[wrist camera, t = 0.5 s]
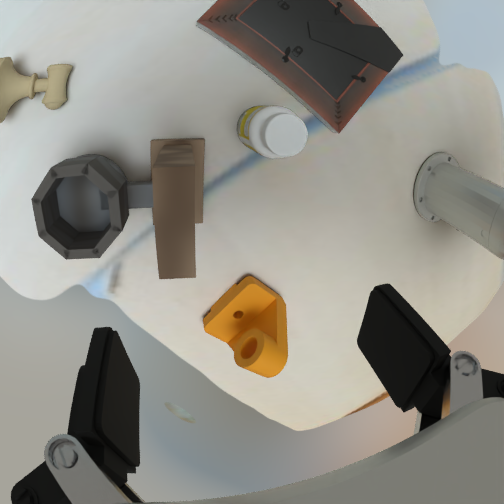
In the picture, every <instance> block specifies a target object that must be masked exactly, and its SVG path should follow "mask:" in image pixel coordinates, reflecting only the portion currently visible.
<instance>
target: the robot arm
mask: <svg viewBox="0 0 504 504" xmlns="http://www.w3.org/2000/svg"><path fill="white" fill-rule="evenodd" d="M414 201H415V206H416V210H417V211H418V213H419V215H420V216H421V217H422V218H424V219H425V220H427V221H430V222H436V221H439V220H444V221H445V222H447V223H448V224H450V225H452V226H453V227H455V228H456V230H458V231H461V232H462V233H464V234H465V235H467V236H468V237H470V238H471V239H473V240H474V241H476V242H477V243H479V244H480V245H482V246H483V247H484V248H486V249H487V250H489V251H490V252H491V253H493V254H494V255H496V256H497V257H499V258H501V259H503V260H504V188H503V187H501V186H499V185H497V184H495V183H493V182H491V181H489V180H487V179H484V178H482V177H480V176H478V175H475V174H473V173H471V172H468V171H466V170H464V169H461V168H460V167H459V164H458V162H457V161H456V159H455V158H454V157H453V156H451V155H449V154H446V153H436V154H434V155H432V156H431V157H429V158H428V159H427V160H426V162H425V163H424V164H423V166H422V167H421V169H420V171H419V173H418V176H417V179H416V183H415V189H414ZM357 344H358V347H359V348H360V350H361V351H362V353H363V355H364V356H365V358H366V359H367V361H368V362H369V364H370V365H371V367H372V368H373V370H374V372H375V373H376V375H377V376H378V378H379V379H380V381H381V382H382V384H383V386H384V387H385V389H386V390H387V392H388V394H389V395H390V397H391V398H392V400H393V401H394V403H395V405H396V406H397V407H399V408H401V409H402V411H403V412H406V411H408V410H410V409H412V408H414V407H416V408H417V410H418V412H417V418H416V424H415V430H414V435H413V436H411V437H409V438H408V439H406V440H404V441H402V442H400V443H398V444H396V445H394V446H392V447H390V448H388V449H385V450H383V451H381V452H379V453H377V454H375V455H372V456H370V457H368V458H365V459H363V460H360V461H358V462H355V463H353V464H350V465H348V466H345V467H343V468H340V469H337V470H334V471H332V472H329V473H326V474H323V475H320V476H316V477H314V478H310V479H307V480H303V481H300V482H296V483H292V484H288V485H284V486H281V487H276V488H272V489H267V490H263V491H258V492H253V493H247V494H242V495H235V496H229V497H221V498H213V499H203V500H193V501H179V502H151V503H146V502H145V501H144V500H143V499H142V498H141V497H140V496H139V495H137V493H136V492H135V491H134V490H133V489H132V488H131V487H130V486H129V485H128V484H127V483H126V482H127V473H136V467H138V466H139V464H140V450H139V399H140V383H139V378H138V376H137V374H136V372H135V370H134V368H133V366H132V364H131V362H130V359H129V357H128V355H127V353H126V350H125V348H124V346H123V344H122V341H121V339H120V337H119V335H118V333H117V331H113V330H112V328H110V327H103V328H95V329H94V331H93V335H92V338H91V342H90V347H89V350H88V355H87V359H86V363H85V365H83V366H81V367H80V369H79V372H78V377H77V381H76V386H75V391H74V396H73V402H72V407H71V413H70V420H69V426H68V433H67V434H60V435H56V436H54V437H52V438H51V439H50V441H48V443H47V445H46V447H45V451H44V457H45V461H44V462H43V463H42V464H41V465H39V466H38V467H37V468H36V469H34V470H33V471H32V472H31V473H29V474H28V475H27V476H25V477H24V478H23V479H22V480H20V481H19V482H18V483H16V485H15V486H14V487H13V489H12V491H11V500H12V504H504V374H501V373H497V372H493V371H489V370H485V369H481V366H480V363H479V361H478V359H477V358H476V357H475V356H474V355H472V354H471V353H469V352H466V351H458V352H456V353H454V354H453V355H452V357H451V356H450V355H449V354H450V352H451V350H450V349H449V348H448V347H447V345H446V344H445V343H444V342H443V341H442V340H441V339H440V337H439V336H438V335H437V334H436V333H435V332H434V331H433V329H432V328H431V327H430V326H429V325H428V324H427V323H426V322H425V321H424V320H423V318H422V317H421V316H420V315H419V314H418V313H417V312H416V311H415V310H414V309H413V308H412V307H411V305H410V304H409V303H408V302H407V301H406V300H405V299H404V298H403V297H402V296H401V295H400V294H399V293H398V292H397V291H396V290H395V289H394V288H393V287H392V286H391V285H390V284H388V283H387V284H383V285H378V286H375V287H374V289H373V291H371V293H370V296H369V300H368V304H367V307H366V311H365V315H364V318H363V322H362V325H361V328H360V332H359V335H358V338H357Z"/></svg>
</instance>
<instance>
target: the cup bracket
mask: <svg viewBox="0 0 504 504" xmlns="http://www.w3.org/2000/svg"><path fill="white" fill-rule="evenodd" d="M204 147H205V139H157V140H151V181H136V182H128V181H127V179H126V176H125V175H124V173H123V171H122V170H121V169H120V167H119V166H118V165H117V164H116V163H114V162H113V161H112V160H110V159H108V158H106V157H104V156H101V155H95V154H87V155H82V156H79V157H77V158H71V159H66V160H64V161H62V162H60V163H58V164H57V165H55V166H53V167H51V168H50V170H49V172H48V173H47V175H46V176H45V178H44V179H43V181H42V183H41V184H40V186H39V188H38V189H37V191H36V193H35V194H34V196H33V198H32V199H31V200H32V205H33V210H34V216H35V221H36V226H37V230H38V235H39V237H40V238H41V239H43V240H44V241H45V242H46V243H47V244H48V245H50V246H51V247H52V248H53V249H54V250H56V251H57V252H58V253H59V254H60V255H62V256H63V257H64V258H65V259H84V258H100V257H101V256H102V254H103V253H104V252H105V251H106V249H107V248H108V247H109V246H110V245H111V243H112V242H113V241H114V240H115V239H116V237H117V236H118V235H119V234H120V233H121V231H122V230H123V228H124V226H125V223H126V221H127V219H128V216H129V209H131V208H150V207H152V211H153V225H155V237H156V249H157V260H158V270H159V279H174V278H196V265H195V223H203V177H204Z"/></svg>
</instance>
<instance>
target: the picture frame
mask: <svg viewBox="0 0 504 504" xmlns="http://www.w3.org/2000/svg"><path fill="white" fill-rule="evenodd" d="M196 26H198V27H199V28H201V29H203V30H204V31H206V32H207V33H209V34H211V35H212V36H214V37H215V38H217V39H218V40H220V41H221V42H223V43H224V44H226V45H227V46H229V47H230V48H232V49H233V50H234V51H236V52H237V53H239V54H240V55H241V56H243V57H244V58H246V59H247V60H248V61H250V62H251V63H252V64H254V65H255V66H256V67H258V68H259V69H260V70H262V71H263V72H264V73H265V74H267V75H268V76H269V77H271V78H272V79H273V80H274V81H276V82H277V83H278V84H279V85H280V86H282V87H283V88H284V89H285V90H287V91H288V92H289V93H290V94H291V95H292V96H294V97H295V98H296V99H297V100H298V101H299V102H301V103H302V104H303V105H304V106H305V107H306V108H307V109H308V110H310V111H311V112H312V113H313V114H314V115H315V116H316V117H317V118H318V119H319V120H320V121H321V122H323V123H324V124H325V125H326V126H327V127H328V128H329V129H330V130H331V131H332V132H335V133H340V132H341V130H342V129H343V128H344V127H345V126H346V124H347V123H348V122H349V121H350V119H351V118H352V117H353V116H354V114H355V113H356V112H357V111H358V109H359V108H360V107H361V106H362V104H363V103H364V102H365V101H366V100H367V98H368V97H369V96H370V95H371V93H372V92H373V91H374V90H375V88H376V87H377V86H378V85H379V84H380V82H381V81H382V80H383V79H384V77H385V76H386V75H387V74H388V72H390V71H391V70H392V68H393V67H394V66H395V65H396V63H397V62H398V61H399V60H400V59H401V57H402V56H403V54H402V53H401V51H400V50H399V49H398V47H397V46H396V45H395V44H394V43H393V41H392V40H391V39H390V38H389V36H388V35H387V34H386V33H385V32H384V31H383V29H382V28H381V27H379V26H378V25H377V24H376V23H375V22H374V21H373V20H372V18H371V17H370V16H369V15H368V14H367V13H366V12H365V11H364V10H363V9H362V8H361V7H360V6H359V5H358V4H357V3H356V2H355V1H354V0H218V1H217V2H216V3H215V4H214V5H213V6H212V7H211V8H210V9H209V10H208V11H207V12H206V13H205V14H204V15H203V16H202V17H201V18H200V19H199V20H198V21H197V24H196Z"/></svg>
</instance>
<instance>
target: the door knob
mask: <svg viewBox="0 0 504 504" xmlns="http://www.w3.org/2000/svg"><path fill="white" fill-rule="evenodd" d="M71 69H72V66H71V65H68V64H55V65H50V66H49V67H48V68H47V71H48V78H44V79H38V76H37V74H36V73H34V74H33V75H32V76H23V75H21V74H19V73H18V72H16V70H15V69H14V67H13V61H12V59H11V58H10V57H5V58H0V123H2V122H3V121H4V119H5V117H6V115H7V112H8V110H9V108H10V107H11V106H12V105H13V104H14V103H15V102H16V101H18V100H19V99H21V98H24V97H28V96H29V98H30V99H33V98H34V96H35V94H36V92H45V91H46V93H45V96H44V98H43V99H42V103H43V104H45V106H46V107H47V108H48V109H51V110H55V109H58V108H59V107H61V106H62V104H63V103H64V102H66V101H67V97H66V82H67V78H68V75H69V73H70V71H71Z"/></svg>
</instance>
